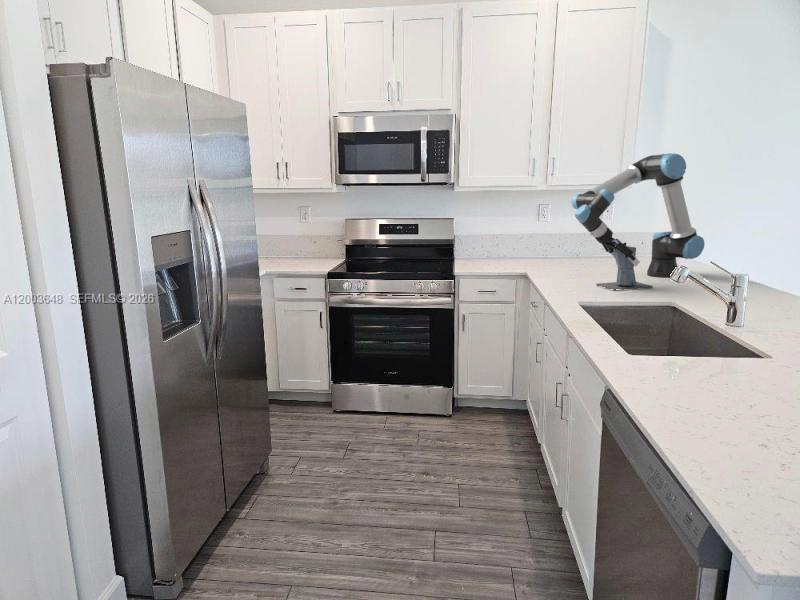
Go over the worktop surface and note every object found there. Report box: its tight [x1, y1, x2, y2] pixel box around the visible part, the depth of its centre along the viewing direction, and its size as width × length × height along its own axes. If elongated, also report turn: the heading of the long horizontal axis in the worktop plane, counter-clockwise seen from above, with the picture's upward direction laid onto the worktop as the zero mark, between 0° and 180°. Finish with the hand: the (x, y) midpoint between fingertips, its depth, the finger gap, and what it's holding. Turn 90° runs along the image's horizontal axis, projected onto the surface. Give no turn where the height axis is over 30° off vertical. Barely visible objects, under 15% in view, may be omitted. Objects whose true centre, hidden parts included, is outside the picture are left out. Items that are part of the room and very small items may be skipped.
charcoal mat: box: [595, 281, 653, 290], centre depth 252 cm, size 20×15×1 cm
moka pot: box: [614, 242, 637, 286], centre depth 248 cm, size 10×15×20 cm, turn 160°
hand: (629, 262), depth 250 cm, fingers open, 13 cm apart
